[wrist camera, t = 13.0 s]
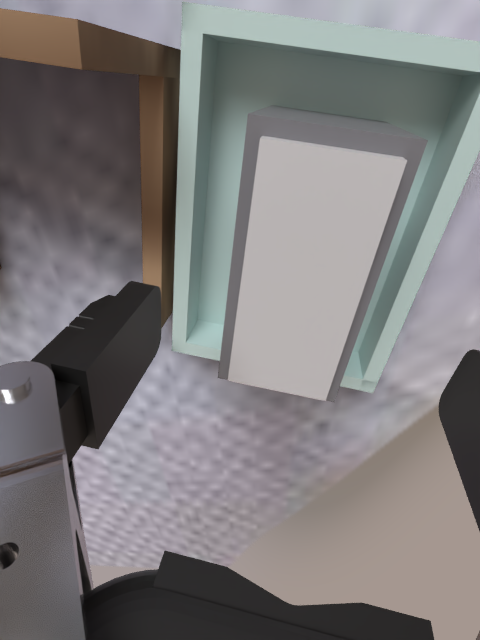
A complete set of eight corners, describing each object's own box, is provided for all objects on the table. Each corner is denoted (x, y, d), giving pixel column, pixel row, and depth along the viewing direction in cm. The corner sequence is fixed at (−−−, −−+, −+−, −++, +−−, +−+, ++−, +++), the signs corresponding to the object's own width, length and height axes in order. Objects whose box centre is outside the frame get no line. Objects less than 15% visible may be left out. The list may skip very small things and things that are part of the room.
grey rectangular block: (271, 105, 16) (244, 114, 10) (386, 121, 16) (433, 142, 10) (244, 300, 22) (214, 387, 15) (328, 316, 21) (334, 412, 15)
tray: (204, 16, 16) (182, 1, 13) (487, 55, 15) (524, 47, 12) (187, 322, 24) (171, 350, 21) (366, 359, 23) (373, 393, 21)
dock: (-82, 13, 17) (-386, -47, 10) (187, 52, 16) (77, 19, 9) (-13, 265, 24) (-160, 344, 17) (177, 303, 23) (111, 404, 16)
